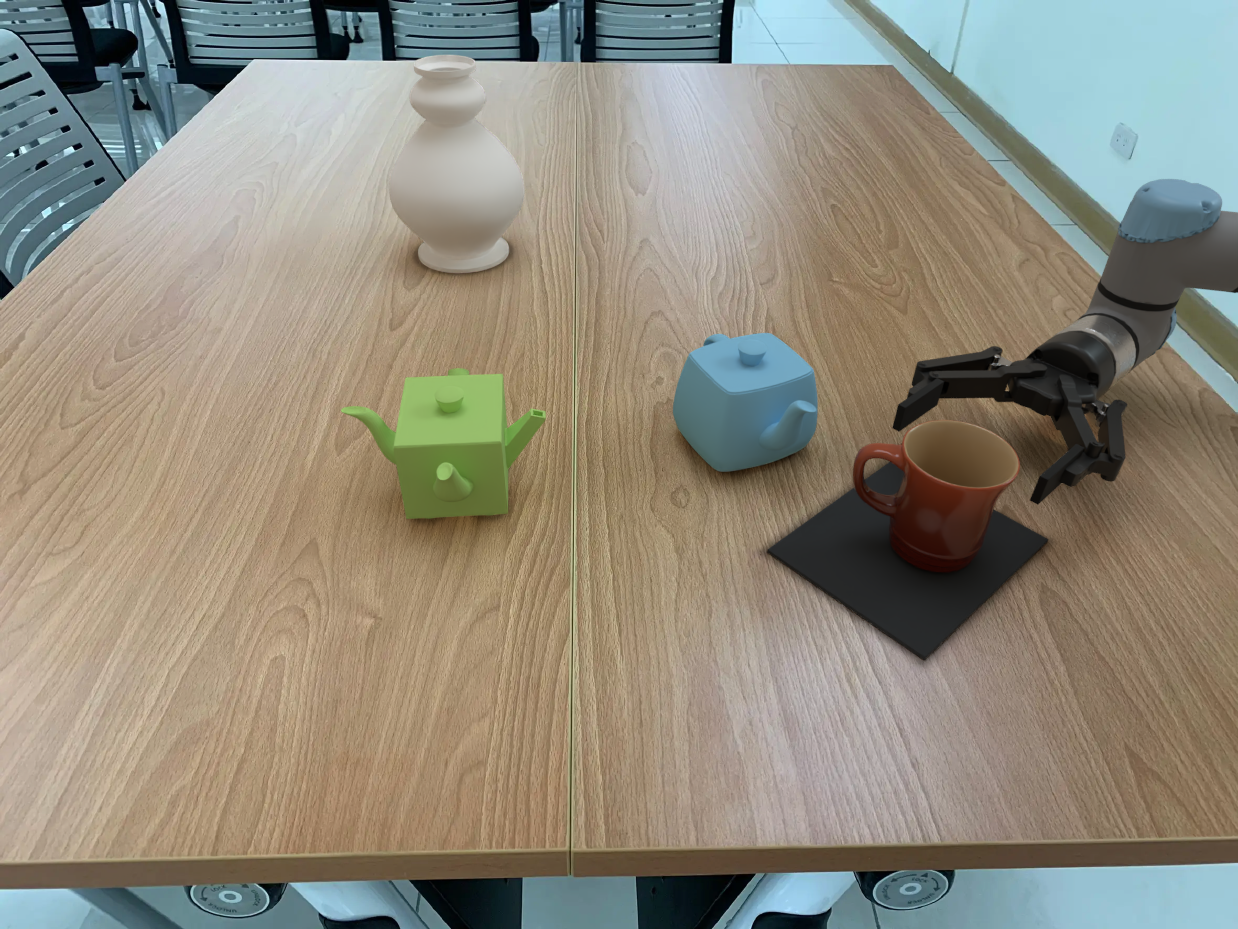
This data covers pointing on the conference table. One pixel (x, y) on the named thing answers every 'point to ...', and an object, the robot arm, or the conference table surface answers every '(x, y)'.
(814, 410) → the teapot
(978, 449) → the mug
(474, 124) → the decorative vase
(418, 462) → the kettle
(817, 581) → the front mat
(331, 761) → the conference table surface
